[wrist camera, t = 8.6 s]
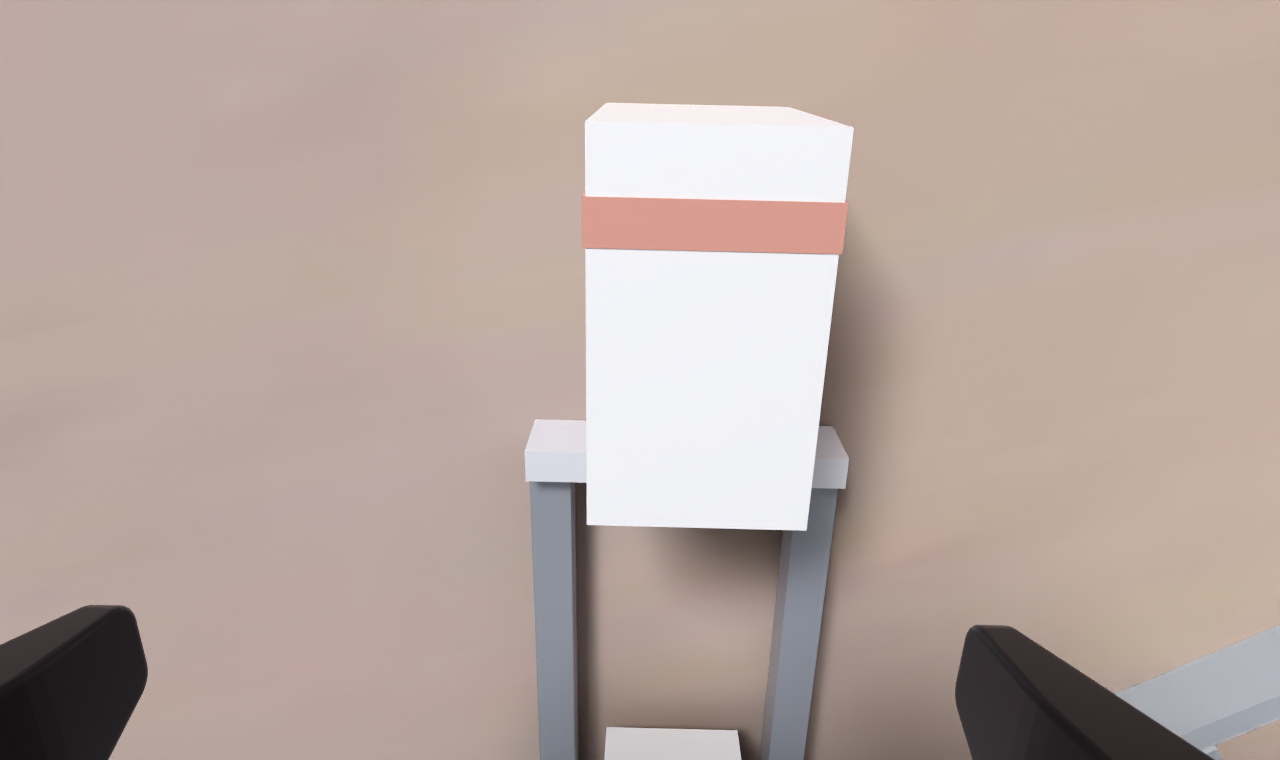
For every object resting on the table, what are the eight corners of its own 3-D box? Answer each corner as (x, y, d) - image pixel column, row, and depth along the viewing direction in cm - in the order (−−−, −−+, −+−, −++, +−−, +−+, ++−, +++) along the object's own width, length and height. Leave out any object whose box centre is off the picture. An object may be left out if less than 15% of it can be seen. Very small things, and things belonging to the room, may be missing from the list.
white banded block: (765, 399, 20) (809, 531, 14) (602, 395, 20) (583, 525, 14) (790, 107, 17) (857, 128, 12) (604, 102, 17) (581, 121, 12)
